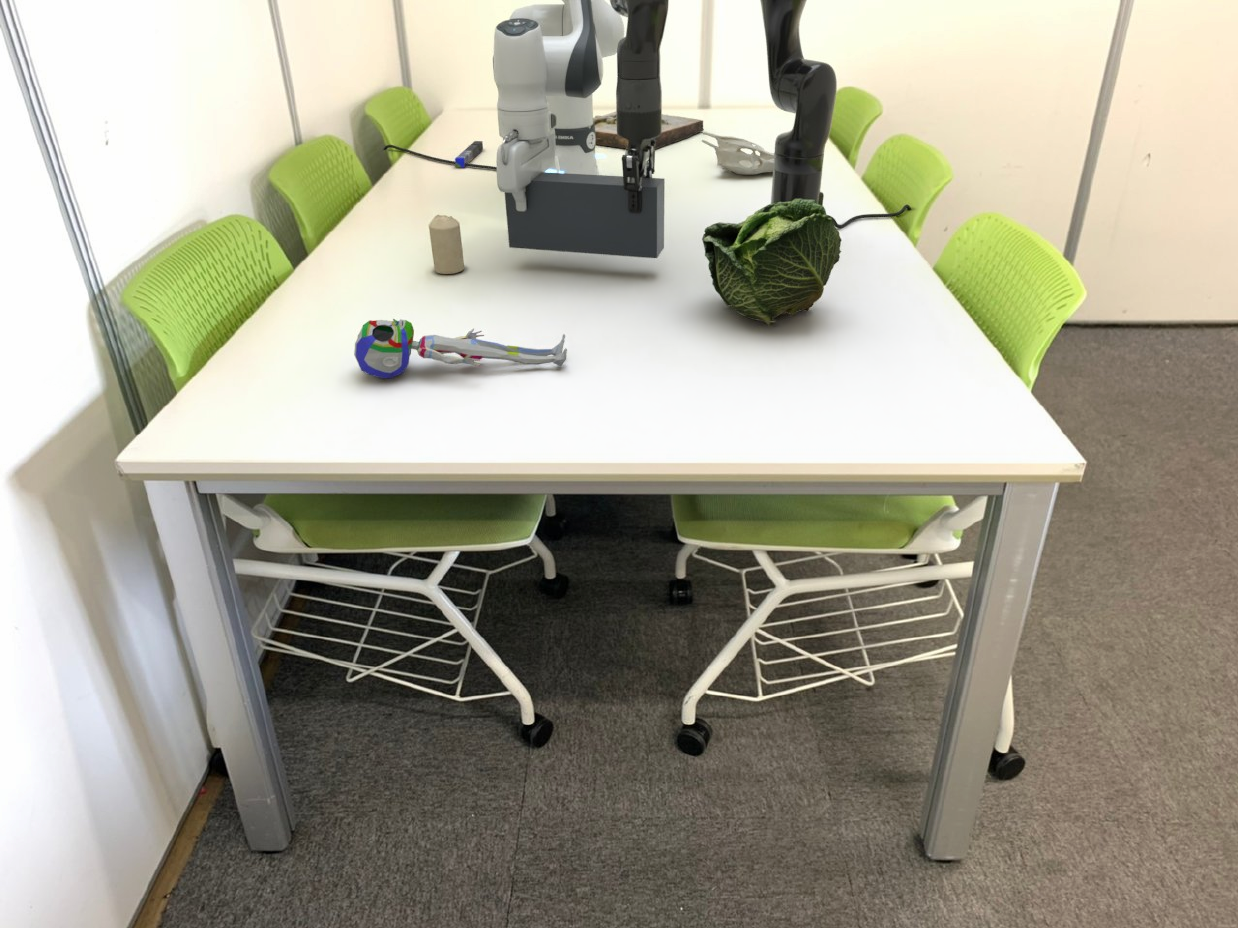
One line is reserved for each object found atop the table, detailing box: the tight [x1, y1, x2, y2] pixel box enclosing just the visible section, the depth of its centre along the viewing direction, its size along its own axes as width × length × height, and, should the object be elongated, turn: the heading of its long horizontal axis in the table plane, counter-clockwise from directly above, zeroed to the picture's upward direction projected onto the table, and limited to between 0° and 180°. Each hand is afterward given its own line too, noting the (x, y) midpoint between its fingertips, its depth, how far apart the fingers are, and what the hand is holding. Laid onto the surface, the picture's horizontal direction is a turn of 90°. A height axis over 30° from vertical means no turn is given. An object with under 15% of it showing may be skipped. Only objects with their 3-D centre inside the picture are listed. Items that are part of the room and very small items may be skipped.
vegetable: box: [701, 198, 843, 326], centre depth 143 cm, size 20×19×20 cm
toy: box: [353, 318, 568, 379], centre depth 130 cm, size 10×8×30 cm
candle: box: [428, 214, 465, 275], centre depth 165 cm, size 6×6×10 cm
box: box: [504, 172, 665, 259], centre depth 160 cm, size 28×6×12 cm, turn 75°
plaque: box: [593, 111, 705, 150], centre depth 257 cm, size 30×7×30 cm
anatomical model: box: [701, 131, 774, 176], centre depth 221 cm, size 15×9×25 cm
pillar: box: [454, 140, 484, 169], centre depth 238 cm, size 2×2×20 cm
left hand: (529, 204), depth 162 cm, fingers closed on box, 6 cm apart
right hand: (639, 207), depth 157 cm, fingers closed on box, 5 cm apart
